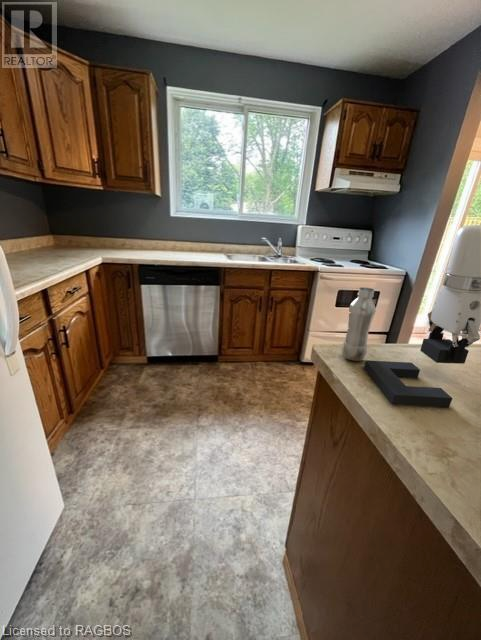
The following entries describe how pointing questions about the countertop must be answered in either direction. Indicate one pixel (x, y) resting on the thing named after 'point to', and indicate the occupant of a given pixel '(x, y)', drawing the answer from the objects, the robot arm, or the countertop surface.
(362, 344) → the plastic bottle
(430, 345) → the black pad
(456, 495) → the countertop surface
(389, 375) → the notched tile
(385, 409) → the countertop surface
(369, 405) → the countertop surface
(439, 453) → the countertop surface
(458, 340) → the robot arm
